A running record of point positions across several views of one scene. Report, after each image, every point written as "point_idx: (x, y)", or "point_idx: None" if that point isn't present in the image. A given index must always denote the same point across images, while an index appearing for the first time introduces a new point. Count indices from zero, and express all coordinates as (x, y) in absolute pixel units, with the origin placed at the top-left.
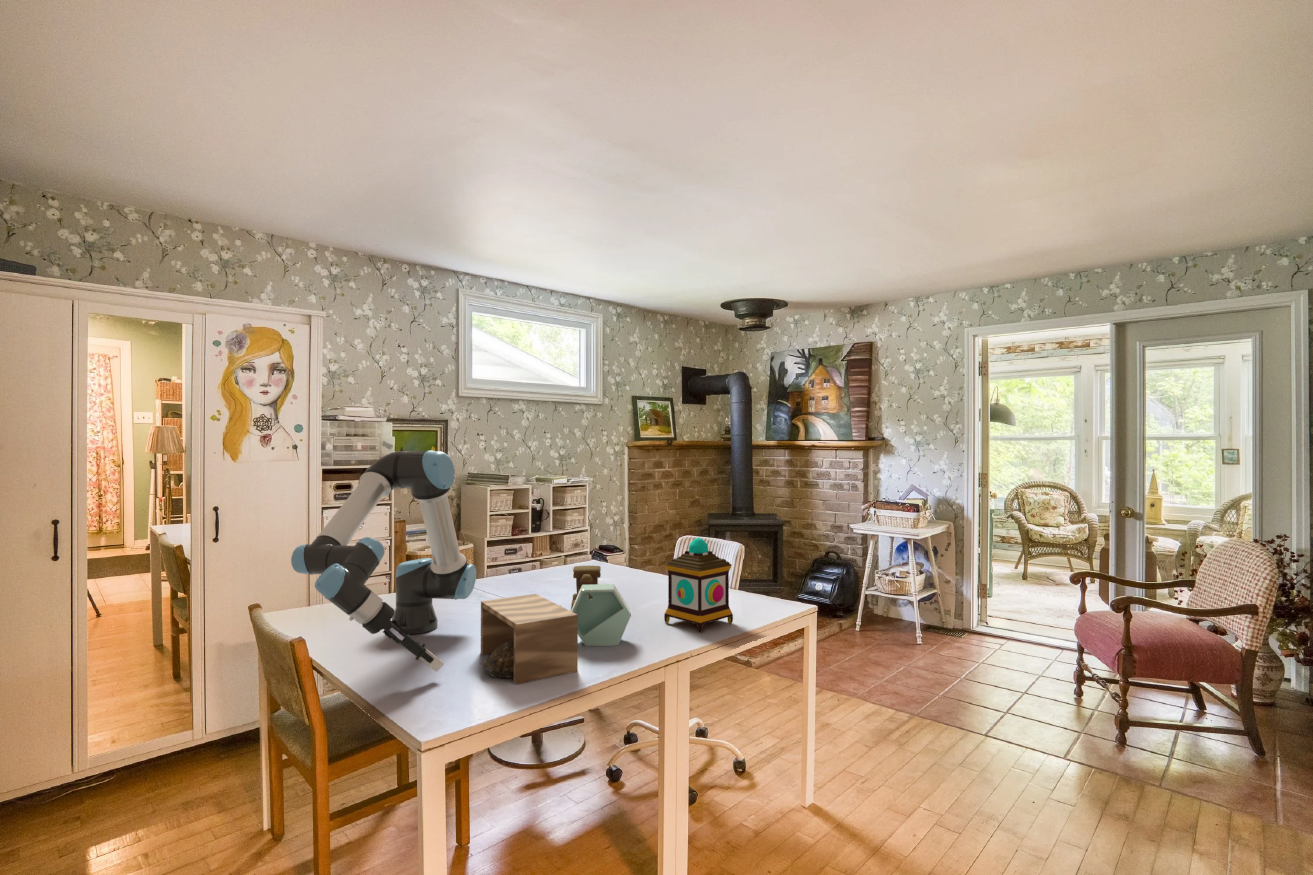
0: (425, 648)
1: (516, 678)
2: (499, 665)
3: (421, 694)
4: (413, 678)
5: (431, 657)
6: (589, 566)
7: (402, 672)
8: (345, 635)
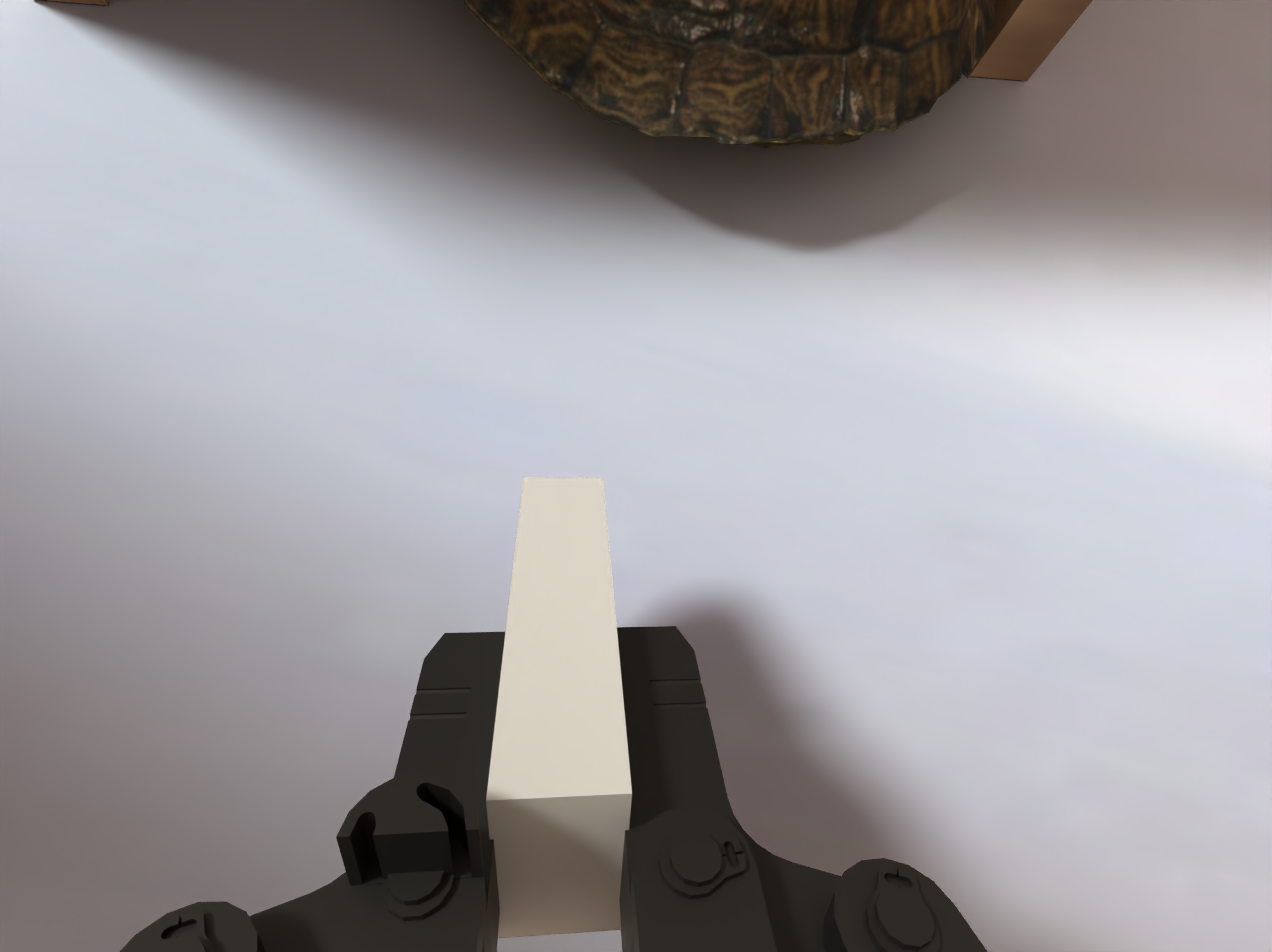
0: (552, 799)
1: (1059, 39)
2: (938, 24)
3: (919, 835)
4: None
5: (698, 678)
6: None
7: (22, 921)
8: None
